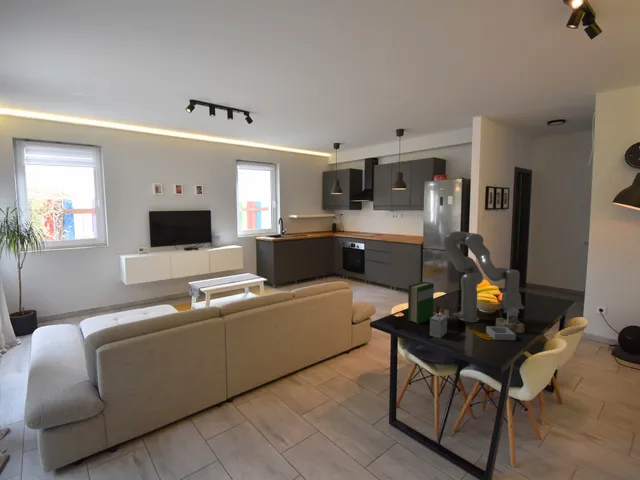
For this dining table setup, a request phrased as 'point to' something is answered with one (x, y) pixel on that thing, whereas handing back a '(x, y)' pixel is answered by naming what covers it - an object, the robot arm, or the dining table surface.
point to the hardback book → (420, 302)
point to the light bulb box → (438, 325)
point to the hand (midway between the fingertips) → (510, 318)
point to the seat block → (501, 333)
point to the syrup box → (511, 316)
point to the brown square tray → (511, 325)
